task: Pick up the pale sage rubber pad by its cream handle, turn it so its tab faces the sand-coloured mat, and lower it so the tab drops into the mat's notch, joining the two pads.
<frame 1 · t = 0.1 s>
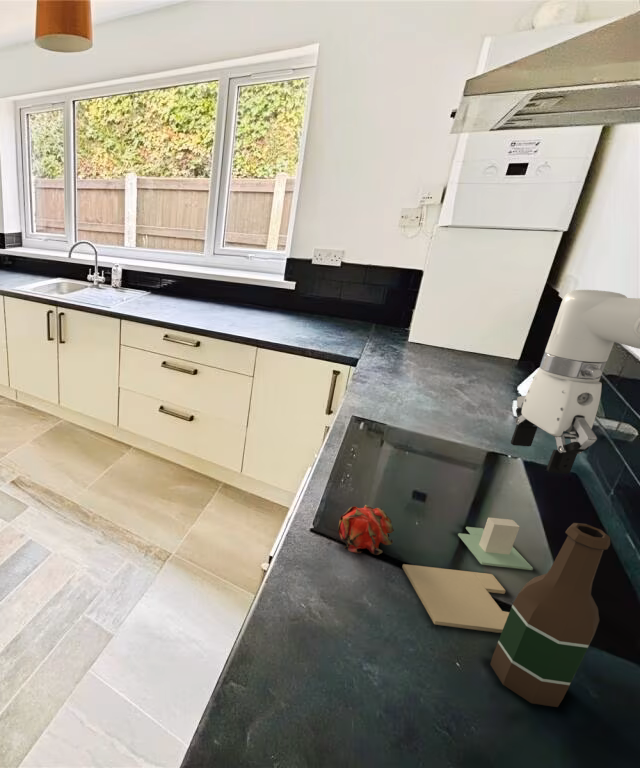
hand: (537, 457, 81), 17 cm above the worktop, tool pointing down, fingers open, 9 cm apart
sand mat: (463, 601, 72), on the worktop
beer bottle: (524, 682, 60), on the worktop
sage pad: (492, 554, 83), on the worktop
dragon fruit: (360, 547, 84), on the worktop
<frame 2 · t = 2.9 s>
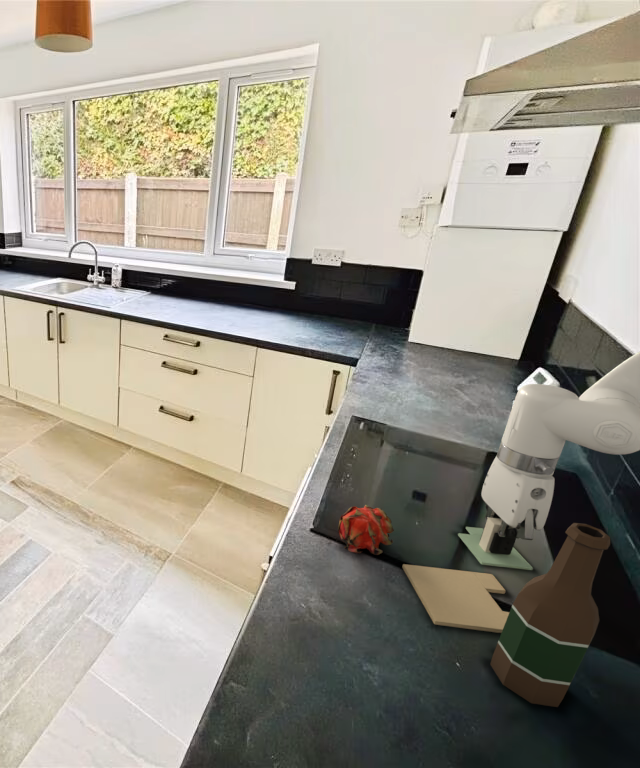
hand: (494, 547, 82), 2 cm above the worktop, tool pointing down, fingers closed on sage pad
sage pad: (492, 554, 83), on the worktop, touching gripper
everything else where it was.
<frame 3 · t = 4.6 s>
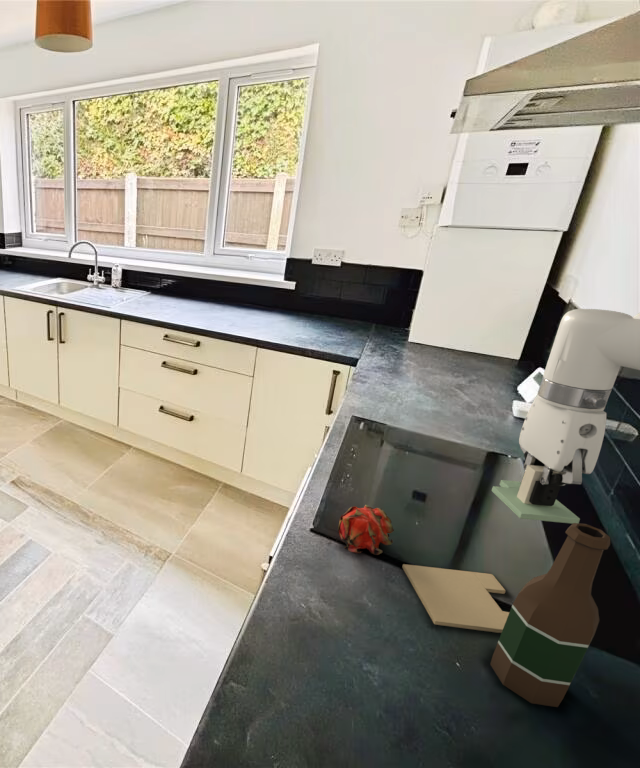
hand: (535, 498, 74), 15 cm above the worktop, tool pointing down, fingers closed on sage pad
sage pad: (532, 506, 75), point 13 cm above the worktop, touching gripper
everything else where it was.
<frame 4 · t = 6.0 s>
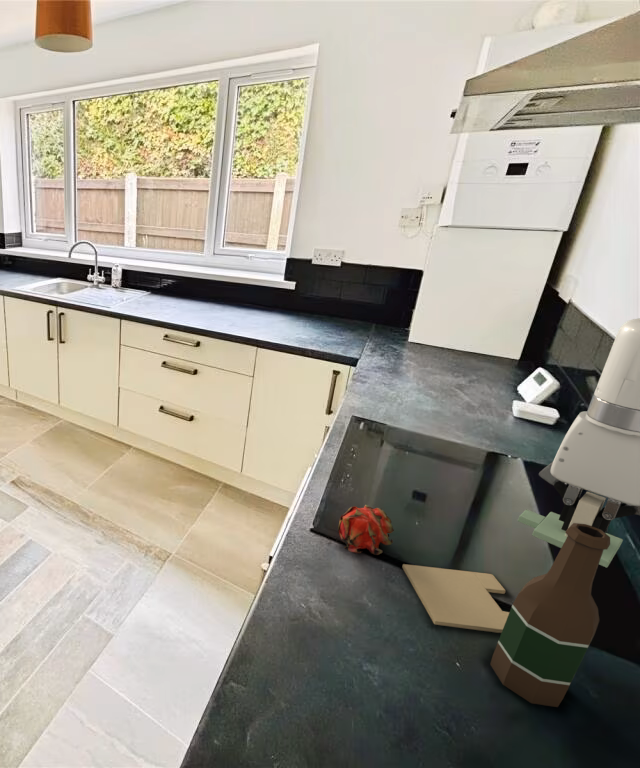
hand: (579, 531, 65), 15 cm above the worktop, tool pointing down, fingers closed on sage pad
sage pad: (575, 540, 66), point 14 cm above the worktop, touching gripper
everything else where it was.
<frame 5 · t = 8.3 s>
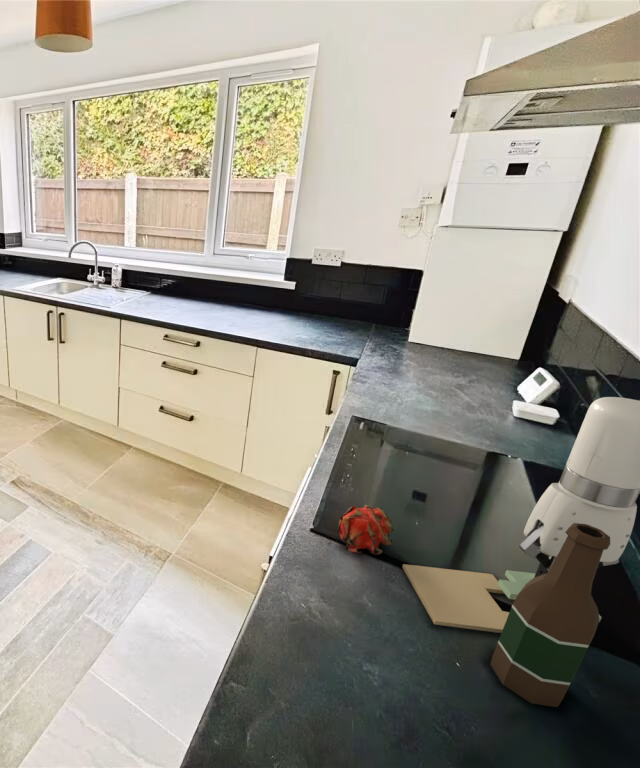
hand: (552, 589, 69), 4 cm above the worktop, tool pointing down, fingers closed on sage pad
sage pad: (549, 597, 70), point 3 cm above the worktop, touching gripper
everything else where it was.
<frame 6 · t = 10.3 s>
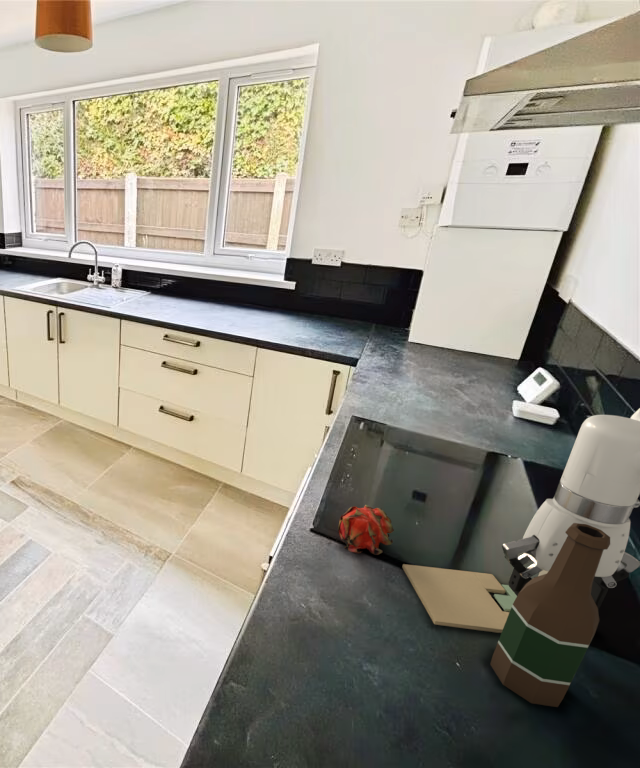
hand: (551, 597, 70), 3 cm above the worktop, tool pointing down, fingers open, 9 cm apart
sage pad: (543, 611, 71), on the worktop
everything else where it was.
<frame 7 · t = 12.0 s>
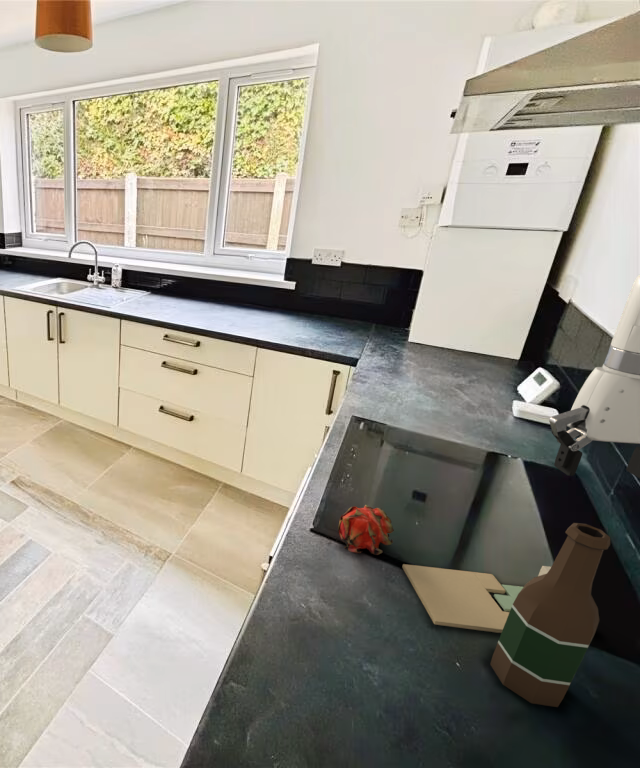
hand: (600, 473, 68), 22 cm above the worktop, tool pointing down, fingers open, 9 cm apart
nothing on the worktop moved.
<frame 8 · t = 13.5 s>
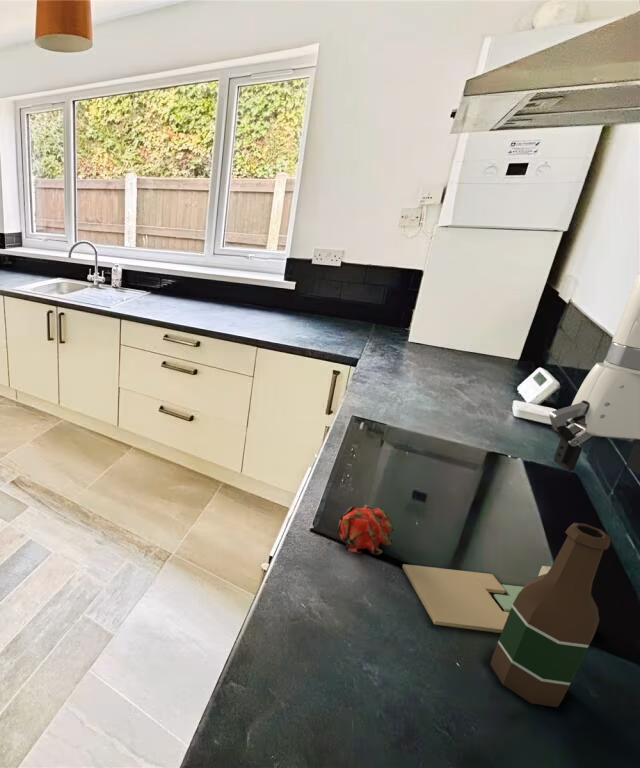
hand: (599, 469, 68), 22 cm above the worktop, tool pointing down, fingers open, 9 cm apart
nothing on the worktop moved.
at the end: sage pad 0.3 cm from the target spot on the worktop beside the sand mat, on the worktop; sage pad tilted 0°; the gripper is holding nothing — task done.
